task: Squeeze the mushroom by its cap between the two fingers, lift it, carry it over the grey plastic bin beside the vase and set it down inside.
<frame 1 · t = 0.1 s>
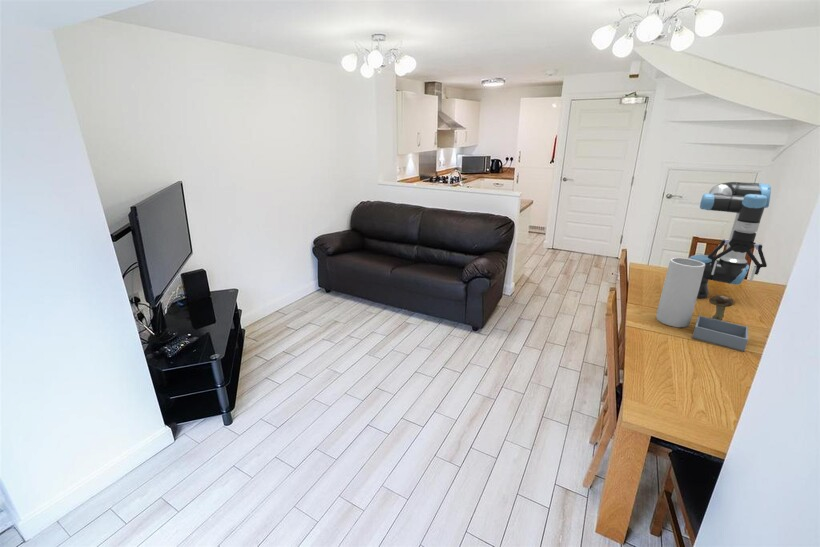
hand: (731, 277, 173), 28 cm above the table, fingers open, 13 cm apart
bin: (718, 338, 177), on the table
vase: (671, 321, 193), on the table
mushroom: (714, 324, 190), on the table
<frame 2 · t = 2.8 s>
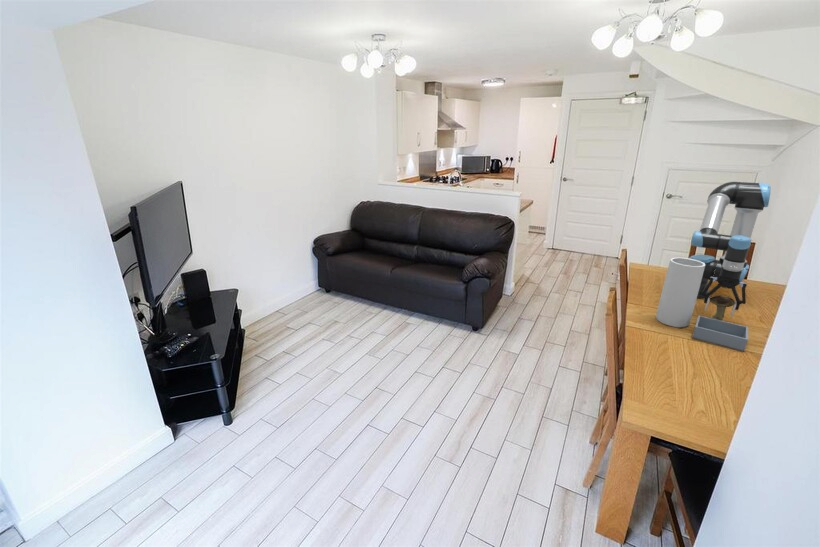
hand: (718, 312, 187), 7 cm above the table, fingers closed on mushroom, 9 cm apart
mushroom: (714, 324, 190), on the table, touching gripper
everything else where it was.
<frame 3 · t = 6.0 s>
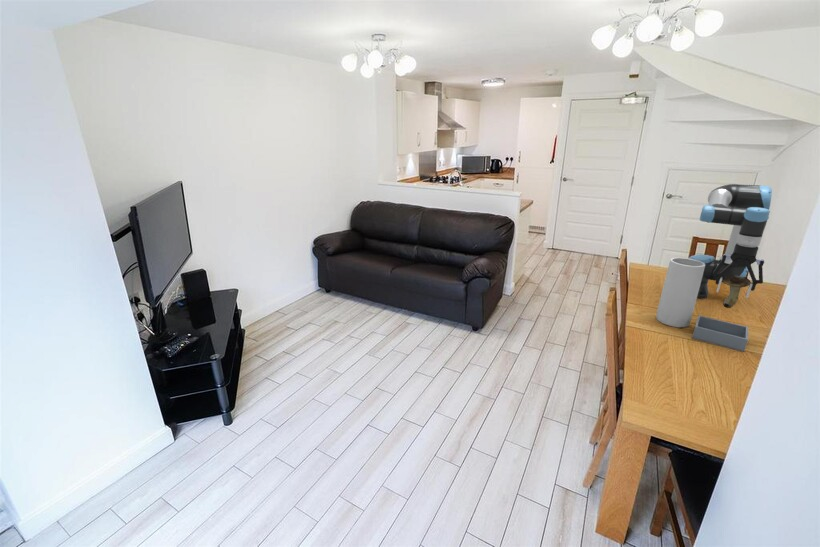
hand: (731, 293, 169), 22 cm above the table, fingers closed on mushroom, 9 cm apart
mushroom: (727, 307, 171), point 15 cm above the table, touching gripper
everything else where it was.
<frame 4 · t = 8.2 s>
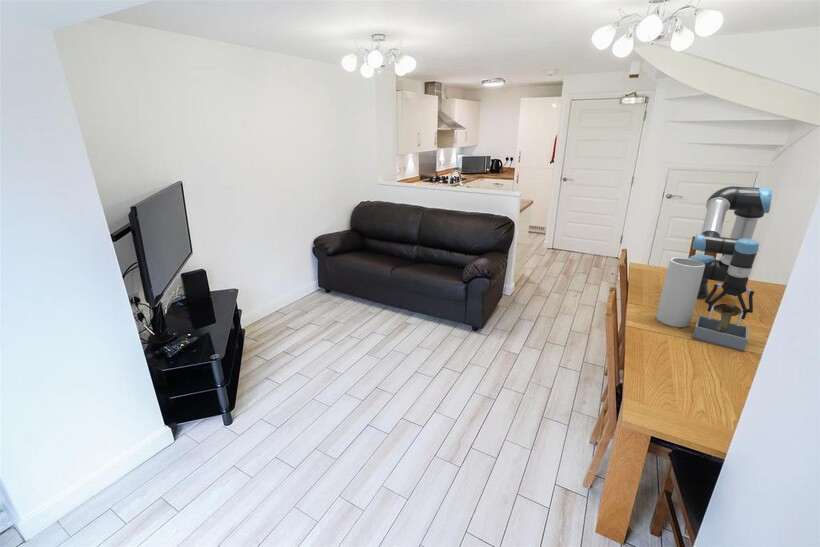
hand: (723, 321, 174), 9 cm above the table, fingers closed on mushroom, 9 cm apart
mushroom: (719, 334, 176), point 2 cm above the table, touching gripper
everything else where it was.
when the fingers open (8 cm above the table, at t = 9.6 s): mushroom stays where it is, resting on bin.
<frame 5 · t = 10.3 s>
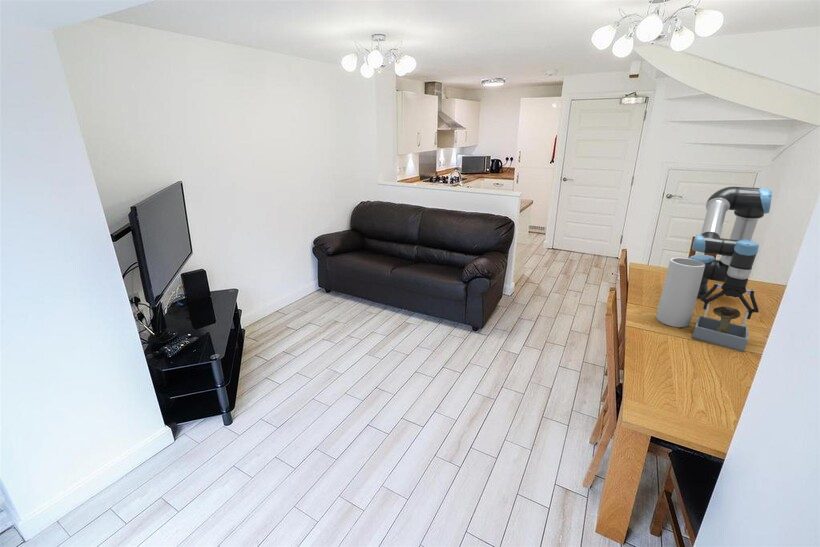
hand: (723, 320, 174), 9 cm above the table, fingers open, 13 cm apart
mushroom: (719, 337, 177), resting on bin
everything else where it was.
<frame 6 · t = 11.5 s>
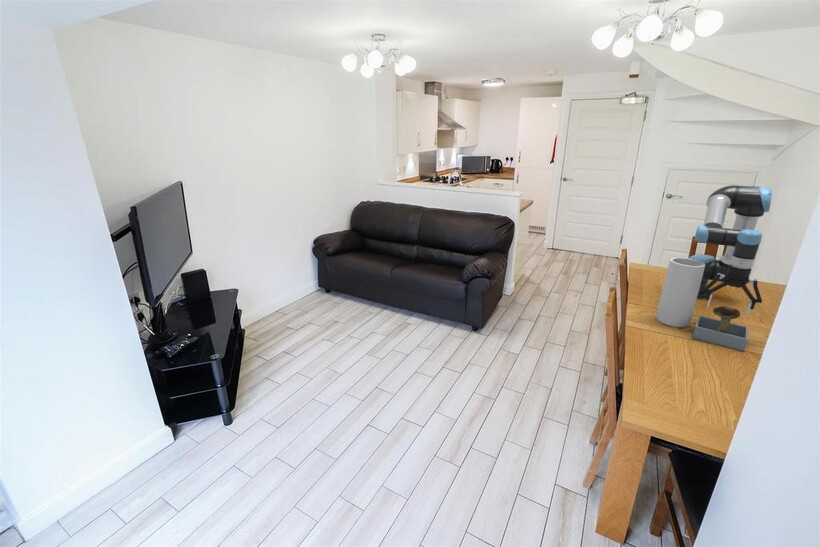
hand: (726, 311, 172), 14 cm above the table, fingers open, 13 cm apart
nothing on the table moved.
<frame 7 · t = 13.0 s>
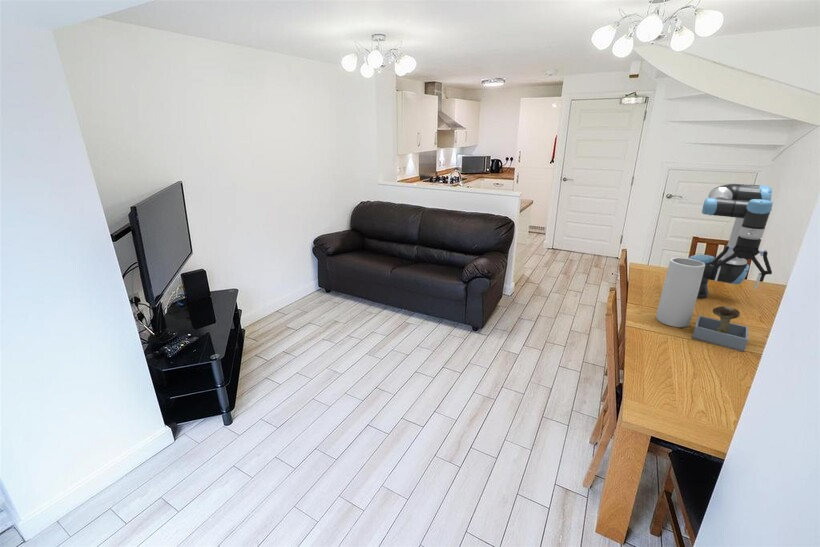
hand: (735, 284, 168), 27 cm above the table, fingers open, 13 cm apart
nothing on the table moved.
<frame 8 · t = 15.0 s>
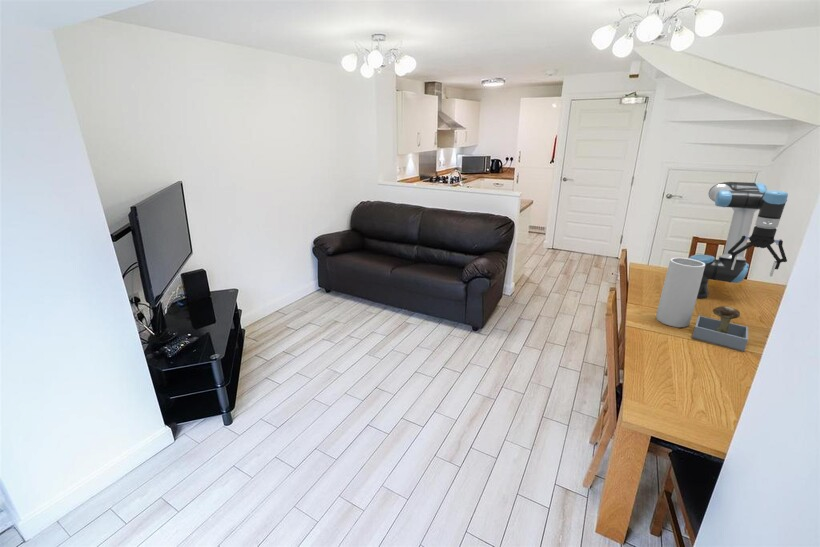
hand: (751, 272, 176), 29 cm above the table, fingers open, 13 cm apart
nothing on the table moved.
at the end: mushroom inside the target area on the bin (0.3 cm from its centre), point 0.4 cm above the bin's base; mushroom tilted 0°; the gripper is holding nothing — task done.
